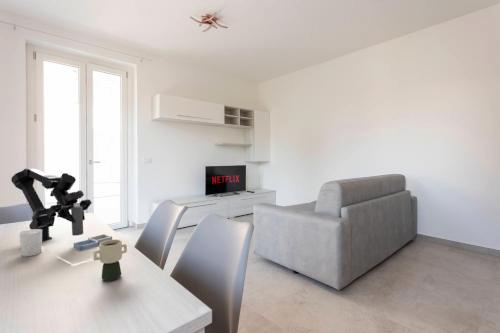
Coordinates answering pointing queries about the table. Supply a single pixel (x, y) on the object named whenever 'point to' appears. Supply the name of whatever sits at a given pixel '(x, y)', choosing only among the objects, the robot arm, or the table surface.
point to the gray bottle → (77, 219)
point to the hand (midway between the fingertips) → (79, 220)
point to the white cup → (31, 242)
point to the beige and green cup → (110, 258)
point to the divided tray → (92, 241)
